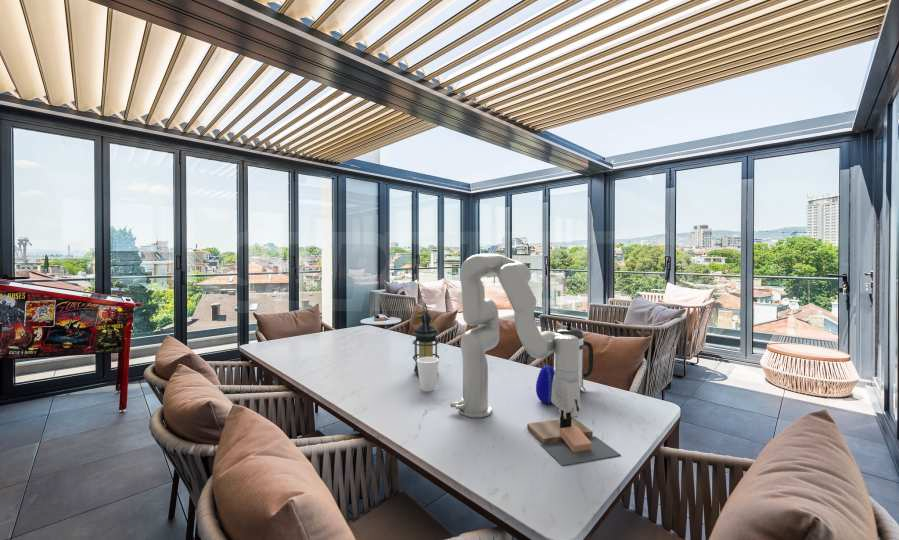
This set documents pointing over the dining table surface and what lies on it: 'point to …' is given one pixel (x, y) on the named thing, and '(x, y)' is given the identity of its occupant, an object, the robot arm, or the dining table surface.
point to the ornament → (545, 384)
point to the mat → (568, 457)
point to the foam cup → (427, 372)
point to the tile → (575, 439)
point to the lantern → (425, 338)
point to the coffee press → (580, 336)
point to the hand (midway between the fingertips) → (565, 428)
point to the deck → (554, 430)
